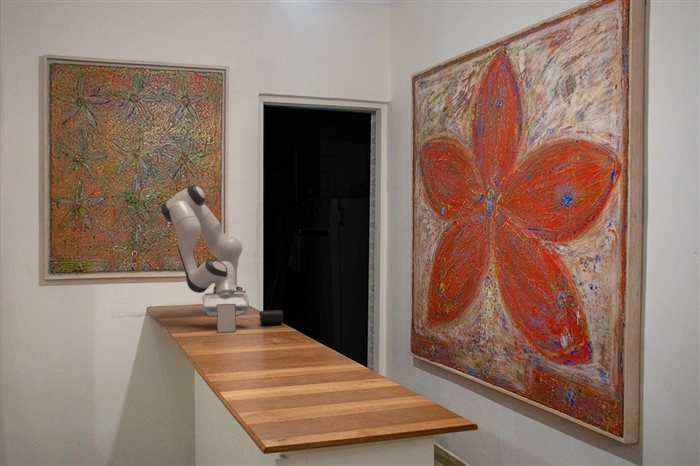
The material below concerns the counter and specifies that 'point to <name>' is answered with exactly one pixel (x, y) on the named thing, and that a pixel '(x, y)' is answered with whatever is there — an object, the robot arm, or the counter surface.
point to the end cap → (271, 317)
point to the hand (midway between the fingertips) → (226, 317)
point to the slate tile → (226, 318)
